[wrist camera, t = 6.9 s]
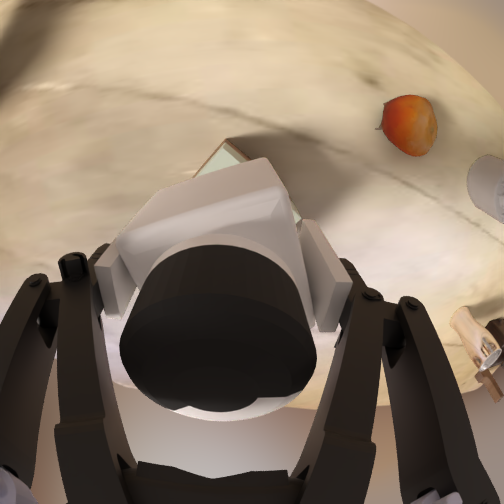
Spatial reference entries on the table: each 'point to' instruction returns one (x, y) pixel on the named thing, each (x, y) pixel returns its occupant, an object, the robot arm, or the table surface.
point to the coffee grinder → (497, 338)
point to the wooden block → (490, 384)
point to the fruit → (409, 124)
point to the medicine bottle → (218, 296)
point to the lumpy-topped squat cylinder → (487, 186)
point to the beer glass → (475, 339)
